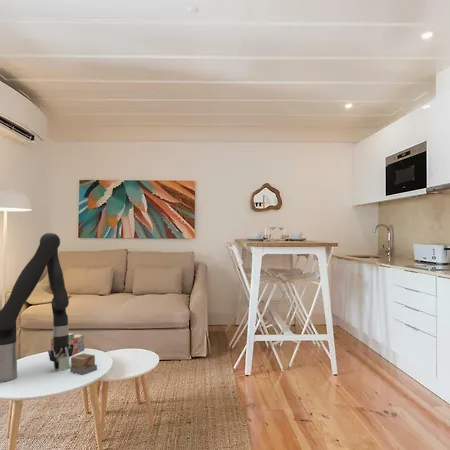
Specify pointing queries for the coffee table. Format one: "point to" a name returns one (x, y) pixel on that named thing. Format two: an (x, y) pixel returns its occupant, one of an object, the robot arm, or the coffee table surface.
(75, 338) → the stack of blocks
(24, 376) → the coffee table surface
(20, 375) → the coffee table surface
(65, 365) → the sage block
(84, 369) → the charcoal slab
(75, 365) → the walnut block
